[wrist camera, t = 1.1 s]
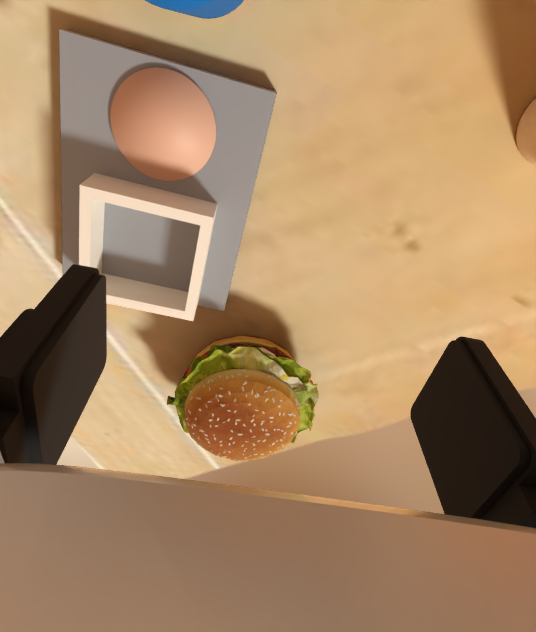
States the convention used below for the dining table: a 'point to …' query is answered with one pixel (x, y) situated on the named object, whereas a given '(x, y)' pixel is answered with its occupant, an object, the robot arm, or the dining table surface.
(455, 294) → the dining table surface
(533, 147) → the candle
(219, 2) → the beverage can
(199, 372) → the food
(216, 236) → the board
